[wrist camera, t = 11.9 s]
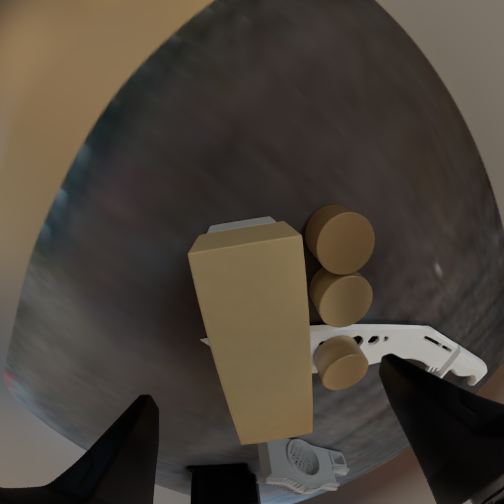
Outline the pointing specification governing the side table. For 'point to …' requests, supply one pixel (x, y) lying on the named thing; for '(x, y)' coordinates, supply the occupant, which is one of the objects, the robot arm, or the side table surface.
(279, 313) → the oblong tan box
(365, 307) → the short tan cylinder
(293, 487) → the garden wall model
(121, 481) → the robot arm
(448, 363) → the knife
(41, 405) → the side table surface
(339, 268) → the crumb
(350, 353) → the tan squat cylinder
